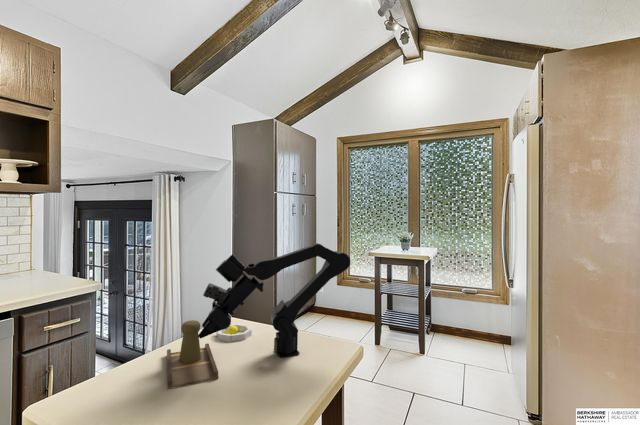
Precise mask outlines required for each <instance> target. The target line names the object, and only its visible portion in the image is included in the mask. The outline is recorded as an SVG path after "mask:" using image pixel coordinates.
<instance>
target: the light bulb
mask: <svg viewBox="0 0 640 425" xmlns="http://www.w3.org/2000/svg"><path fill="white" fill-rule="evenodd" d="M224 333H225V334H238V328H237V327H236V326H231V327H229V328H228V330H226V331H225V332H224Z"/></svg>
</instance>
